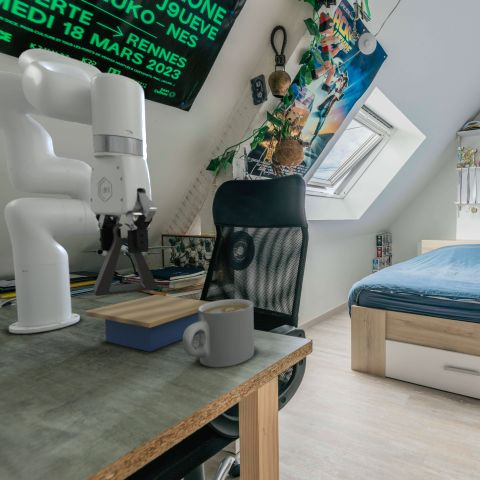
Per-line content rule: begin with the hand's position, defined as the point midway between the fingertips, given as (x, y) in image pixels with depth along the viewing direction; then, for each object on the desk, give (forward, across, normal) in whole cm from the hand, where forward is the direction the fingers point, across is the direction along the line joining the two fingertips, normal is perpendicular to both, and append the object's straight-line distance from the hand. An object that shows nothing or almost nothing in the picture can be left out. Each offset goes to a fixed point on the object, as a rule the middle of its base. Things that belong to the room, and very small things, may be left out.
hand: (124, 250), depth 58 cm
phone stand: (+7, 0, 0) cm, 7 cm away
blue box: (+21, -8, +11) cm, 25 cm away
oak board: (+15, -8, +11) cm, 21 cm away
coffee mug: (+21, +14, +8) cm, 27 cm away
